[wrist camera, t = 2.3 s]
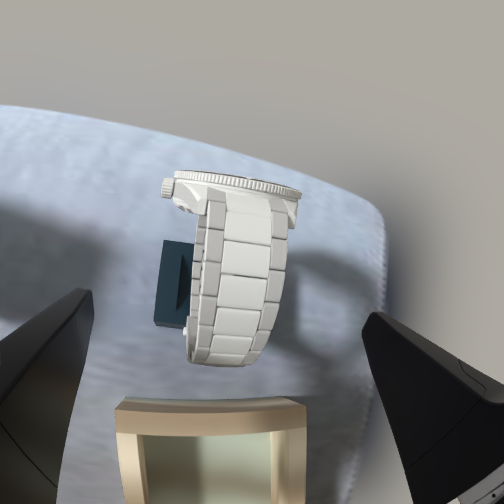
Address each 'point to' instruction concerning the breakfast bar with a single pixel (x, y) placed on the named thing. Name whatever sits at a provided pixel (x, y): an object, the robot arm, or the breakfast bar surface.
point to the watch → (225, 265)
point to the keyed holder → (212, 451)
